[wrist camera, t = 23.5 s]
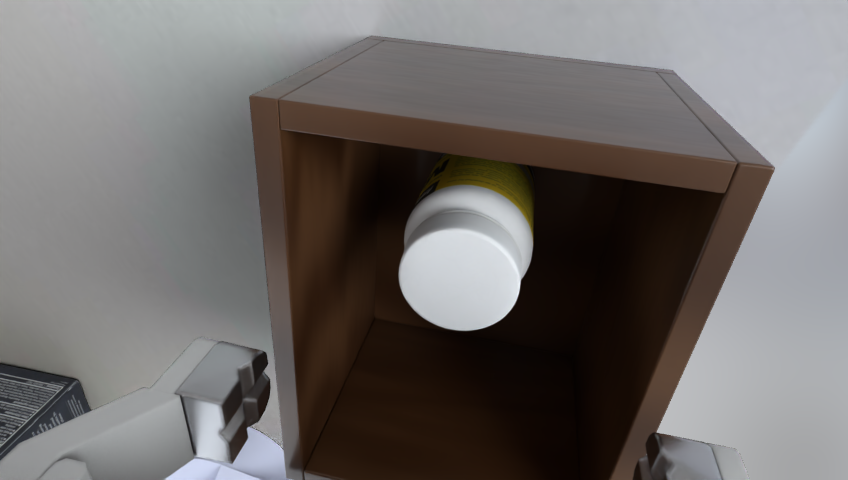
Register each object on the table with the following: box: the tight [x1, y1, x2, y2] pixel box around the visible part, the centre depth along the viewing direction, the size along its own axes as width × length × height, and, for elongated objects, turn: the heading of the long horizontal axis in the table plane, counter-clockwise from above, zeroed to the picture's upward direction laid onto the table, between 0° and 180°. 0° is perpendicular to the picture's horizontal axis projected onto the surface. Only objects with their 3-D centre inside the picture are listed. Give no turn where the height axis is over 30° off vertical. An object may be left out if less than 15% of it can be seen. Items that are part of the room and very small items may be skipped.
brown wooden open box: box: [249, 36, 775, 480], centre depth 21 cm, size 16×13×11 cm
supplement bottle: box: [398, 153, 535, 331], centre depth 20 cm, size 5×5×8 cm
